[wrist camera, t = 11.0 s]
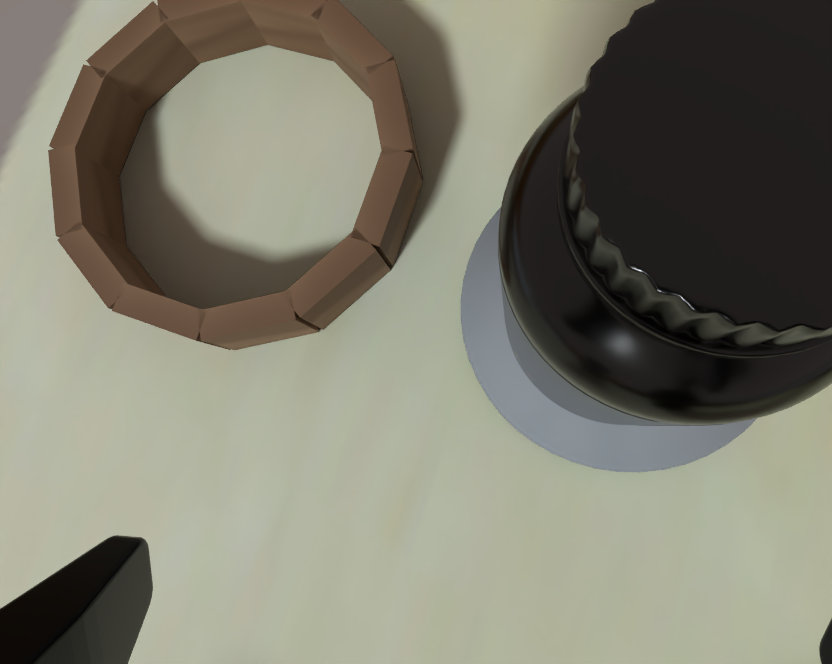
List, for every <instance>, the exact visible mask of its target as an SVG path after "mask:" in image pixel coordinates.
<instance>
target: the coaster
mask: <svg viewBox="0 0 832 664" xmlns="http://www.w3.org/2000/svg"><path fill="white" fill-rule="evenodd" d="M500 211H501V208H500V209H499V210H498V211H497V212H496V213H495V215H494V216H493V217H492V219H491V220H490V221H489V223H488V224H487V225H486V227H485V228H484V230H483V232H482V234H481V235H480V237H479V239H478V240H477V242H476V244H475V247H474V249H473V252H472V254H471V256H470V259H469V261H468V265H467V269H466V272H465V276H464V280H463V287H462V295H461V324H462V332H463V339H464V343H465V347H466V350H467V354H468V358H469V361H470V363H471V365H472V368H473V370H474V373H475V375H476V377H477V379H478V381H479V383H480V385H481V386H482V388H483V390H484V391H485V393H486V395H487V397H488V398H489V400H490V401H491V402H492V404H493V405H494V406H495V407H496V409H497V410H498V411H499V413H500V414H501V415H502V416H503V417H504V418H505V419H506V420H507V421H508V422H509V423H510V424H511V425H512V426H513V427H514V428H515V429H516V430H518V431H519V432H520V433H522V434H523V435H524V436H526V437H527V438H528V439H529V440H531V441H532V442H534V443H536V444H537V445H539V446H541V447H543V448H544V449H546V450H548V451H549V452H551V453H553V454H555V455H558V456H560V457H562V458H565V459H567V460H569V461H572V462H574V463H578V464H582V465H585V466H589V467H592V468H596V469H603V470H610V471H616V472H647V471H656V470H664V469H668V468H672V467H676V466H680V465H684V464H687V463H690V462H692V461H695V460H697V459H700V458H703V457H705V456H707V455H709V454H711V453H713V452H714V451H716V450H718V449H720V448H722V447H723V446H725V445H727V444H728V443H730V442H731V441H732V440H733V439H735V438H736V437H737V436H739V435H740V434H741V433H743V432H744V431H745V430H746V429H747V428H748V427H749V426H750V425H751V424H752V423H753V422H754V421H755V420H756V419H757V418H755V419H751V420H746V421H741V422H735V423H729V424H722V425H707V426H637V425H614V424H606V423H601V422H596V421H592V420H589V419H586V418H583V417H580V416H578V415H576V414H573V413H571V412H569V411H567V410H565V409H564V408H562V407H560V406H559V405H557V404H556V403H554V402H553V401H551V400H550V399H549V398H547V397H546V396H545V395H544V394H543V393H541V391H540V390H539V389H538V388H537V387H536V386H535V385H534V384H533V383H532V382H531V381H530V380H529V378H528V377H527V376H526V374H525V373H524V371H523V370H522V368H521V367H520V365H519V363H518V361H517V359H516V357H515V355H514V353H513V350H512V348H511V345H510V342H509V338H508V334H507V330H506V325H505V318H504V308H503V299H502V289H501V279H500V269H499V258H498V229H499V220H500Z"/></svg>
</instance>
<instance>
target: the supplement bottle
mask: <svg viewBox="0 0 832 664" xmlns="http://www.w3.org/2000/svg"><path fill="white" fill-rule="evenodd" d="M498 258H499V269H500V279H501V289H502V299H503V308H504V318H505V325H506V330H507V334H508V338H509V342H510V345H511V348H512V350H513V353H514V355H515V357H516V359H517V361H518V363H519V365H520V367H521V368H522V370H523V371H524V373H525V374H526V376H527V377H528V378H529V380H530V381H531V382H532V383H533V384H534V385H535V386H536V387H537V388H538V389H539V390H540V391H541V393H543V394H544V395H545V396H546V397H547V398H549V399H550V400H551V401H553V402H554V403H556V404H557V405H559V406H560V407H562V408H564V409H565V410H567V411H569V412H571V413H573V414H576V415H578V416H580V417H583V418H586V419H589V420H592V421H596V422H601V423H606V424H614V425H637V426H707V425H722V424H729V423H735V422H741V421H746V420H751V419H755V418H759V417H762V416H766V415H770V414H773V413H776V412H778V411H781V410H784V409H787V408H789V407H792V406H794V405H796V404H798V403H800V402H802V401H804V400H806V399H808V398H810V397H812V396H813V395H815V394H816V393H818V392H820V391H821V390H823V389H825V388H826V387H828V386H829V385H830V384H831V383H832V0H656V1H655V2H654V3H651V4H649V5H646V6H643V7H641V8H639V9H637V10H635V11H634V13H633V14H632V16H631V18H630V20H629V21H628V23H627V25H626V27H625V28H623V29H621V30H620V31H618V32H617V33H615V34H614V35H612V36H611V37H610V38H609V39H608V41H607V43H606V45H605V48H604V52H603V55H602V57H601V58H600V59H599V60H598V61H597V62H596V63H595V64H594V65H593V66H592V67H591V68H590V69H589V71H588V73H587V76H586V80H585V84H584V86H583V87H582V88H580V89H579V90H577V91H576V92H574V93H573V94H572V95H571V96H569V97H568V98H567V99H566V100H565V101H563V102H562V103H561V104H560V105H559V106H558V107H557V108H556V109H555V110H554V111H553V112H551V113H550V114H549V115H548V116H547V118H546V119H545V120H544V121H543V122H542V123H541V125H540V126H539V127H538V128H537V129H536V131H535V132H534V134H533V135H532V136H531V138H530V139H529V141H528V142H527V144H526V145H525V147H524V149H523V150H522V152H521V154H520V156H519V157H518V159H517V161H516V163H515V166H514V168H513V170H512V172H511V175H510V177H509V180H508V183H507V186H506V189H505V192H504V197H503V201H502V206H501V211H500V220H499V229H498Z"/></svg>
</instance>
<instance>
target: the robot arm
mask: <svg viewBox="0 0 832 664" xmlns="http://www.w3.org/2000/svg"><path fill="white" fill-rule="evenodd" d="M152 591H153V583H152V574H151V565H150V556H149V548H148V544H147V542H146V540H145V539H143V538H141V537H130V536H118V535H117V536H112V537H110V538H108V539H106V540H104V541H103V542H101V543H100V544H98V545H97V546H95V547H94V548H92V549H91V550H89V551H88V552H86V553H85V554H83V555H81V556H80V557H78V558H77V559H75V560H74V561H72V562H71V563H69V564H68V565H66V566H65V567H63V568H62V569H60V570H59V571H57V572H56V573H54V574H53V575H51V576H50V577H48V578H46V579H45V580H43V581H42V582H40V583H39V584H37V585H36V586H34V587H33V588H31V589H30V590H28V591H27V592H25V593H24V594H22V595H21V596H19V597H18V598H16V599H15V600H13V601H11V602H10V603H8V604H7V605H5V606H4V607H2V608H1V609H0V664H128V662H129V659H130V656H131V654H132V651H133V648H134V645H135V643H136V640H137V637H138V635H139V632H140V629H141V627H142V624H143V621H144V619H145V616H146V613H147V611H148V608H149V605H150V602H151V598H152ZM819 650H820V658H821V663H822V664H832V619H831V621H830V623H829V625H828V627H827V629H826V631H825V633H824V635H823V637H822V639H821V642H820V648H819Z"/></svg>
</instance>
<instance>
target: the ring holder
mask: <svg viewBox="0 0 832 664" xmlns="http://www.w3.org/2000/svg"><path fill="white" fill-rule="evenodd" d="M157 1H158V6H157V5H156V4H155V3H154V2H151V3H150V4H149V5H148V6H147V7H146V8H145V9H144V10H142V11H141V12H140V13H139V14H138V15H137V16H136V17H135V18H134V19H132V20H131V21H130V22H129V23H128V24H127V25H126V26H125V27H123V28H122V29H121V30H120V31H119V32H118V33H117V34H116V35H114V36H113V37H112V38H111V39H110V40H109V41H108V42H107V43H105V44H104V45H103V46H102V47H101V48H100V49H99V50H98V51H96V52H95V53H94V54H93V55H92V56H91V57H90V58H89V59H87V60H86V61H87V62H88V63H89V64H90V66H88V65H84V64H83V67H82V69H81V72H80V74H79V76H78V79H77V81H76V83H75V86H74V88H73V90H72V93H71V95H70V98H69V100H68V102H67V105H66V107H65V109H64V112H63V114H62V117H61V119H60V121H59V124H58V126H57V128H56V131H55V133H54V136H53V138H52V140H51V143H50V145H49V146H50V147H52V148H53V149H52V150H48V152H49V163H50V175H51V186H52V198H53V209H54V221H55V232H56V236H57V237H60V238H59V239H58V242H59V243H60V244H61V246H62V247H63V248H64V250H65V251H66V252H67V254H68V255H69V256H70V258H71V259H72V260H73V262H74V263H75V264H76V266H77V267H78V268H79V270H80V271H81V272H82V274H83V275H84V276H85V278H86V279H87V280H88V282H89V283H90V284H91V286H92V287H93V288H94V290H95V291H96V292H97V294H98V295H99V296H100V298H101V299H102V300H103V302H104V303H105V304H106V306H107V307H108V308H110V309H112V311H114V312H117V313H120V314H123V315H125V316H128V317H131V318H134V319H137V320H140V321H142V322H145V323H148V324H151V325H154V326H156V327H159V328H162V329H165V330H168V331H171V332H173V333H176V334H179V335H182V336H185V337H188V338H190V339H193V340H196V341H200V342H203V343H207V344H211V345H214V346H218V347H222V348H225V349H229V350H230V349H232V350H237V349H242V348H246V347H251V346H256V345H260V344H265V343H270V342H274V341H279V340H284V339H288V338H293V337H298V336H302V335H307V334H311V333H316V332H319V329H318V327H319V328H321V329H323V330H324V329H325V328H326V327H327V326H328V325H329V324H330V323H331V322H333V321H334V320H335V319H336V318H337V317H338V316H339V315H340V314H342V313H343V312H344V311H345V310H346V309H347V308H348V307H350V306H351V305H352V304H353V303H354V302H355V301H356V300H357V299H359V298H360V297H361V296H362V295H363V294H364V293H365V292H367V291H368V290H369V289H370V288H371V287H372V286H373V285H374V284H376V283H377V282H378V281H379V280H380V279H381V278H382V277H383V276H385V275H386V274H387V273H388V272H389V271H390V269H389V267H388V266H387V264H388V265H391V266H394V263H395V260H396V257H397V254H398V252H399V249H400V246H401V243H402V240H403V238H404V235H405V232H406V229H407V226H408V223H409V221H410V218H411V215H412V212H413V209H414V207H415V204H416V201H417V198H418V195H419V192H420V190H421V187H422V184H423V183H422V179H423V177H422V172H421V167H420V162H419V157H418V152H417V147H416V143H415V138H414V133H413V128H412V123H411V118H410V113H409V108H408V103H407V99H406V95H405V92H404V88H403V85H402V82H401V78H400V75H399V71H398V68H397V65H396V61H395V60H394V58H393V55H392V54H391V53H390V52H389V51H388V50H387V49H386V48H385V47H384V46H383V45H382V44H381V43H380V42H379V41H378V40H377V39H376V38H375V37H374V36H373V35H372V34H371V33H370V32H369V31H368V30H367V29H366V28H365V27H364V26H363V25H362V24H361V23H360V22H359V21H358V20H357V19H356V18H355V17H354V16H353V15H352V14H351V13H350V12H349V11H348V10H347V9H346V8H345V7H344V6H343V5H342V4H341V3H340V2H339V1H338V0H157ZM265 45H271V46H275V47H279V48H283V49H287V50H291V51H295V52H299V53H303V54H307V55H311V56H315V57H319V58H324V59H328V60H332V61H335V63H336V64H337V65H338V66H339V67H340V68H341V69H342V70H343V71H344V72H345V73H346V74H347V75H348V76H349V77H350V78H351V79H352V80H353V81H354V82H355V83H356V84H357V85H358V86H359V87H360V89H361V90H362V91H363V92H364V93H365V94H366V95H367V96H368V97H369V98H370V99H371V100H372V102H373V107H374V113H375V118H376V123H377V128H378V134H379V139H380V144H381V149H382V151H381V154H380V157H379V160H378V162H377V165H376V168H375V171H374V173H373V176H372V179H371V182H370V184H369V187H368V190H367V193H366V195H365V198H364V201H363V204H362V206H361V209H360V212H359V215H358V217H357V220H356V223H355V226H354V228H353V231H352V233H350V234H349V235H348V236H347V237H346V238H345V239H344V240H343V241H341V242H340V243H339V244H338V245H337V246H336V247H335V248H334V249H332V250H331V251H330V252H329V253H328V254H327V255H326V256H324V257H323V258H322V259H321V260H320V261H319V262H318V263H317V264H315V265H314V266H313V267H312V268H311V269H310V270H309V271H308V272H306V273H305V274H304V275H303V276H302V277H301V278H300V279H298V280H297V281H296V282H295V283H294V284H293V285H292V286H291V287H289V288H288V289H287V290H286V291H283V292H279V293H274V294H270V295H265V296H261V297H256V298H252V299H248V300H243V301H239V302H234V303H230V304H225V305H221V306H216V307H212V308H207V309H203V310H202V309H199V308H196V307H193V306H190V305H187V304H184V303H181V302H178V301H175V300H173V299H170V298H167V297H166V296H165V294H164V293H163V292H162V291H161V289H160V288H159V287H158V285H157V284H156V283H155V282H154V280H153V279H152V278H151V276H150V275H149V274H148V273H147V271H146V270H145V269H144V267H143V266H142V265H141V264H140V262H139V261H138V260H137V258H136V257H135V256H134V255H133V253H132V252H131V251H130V249H129V248H128V247H127V246H126V237H125V228H124V219H123V210H122V200H121V191H120V182H119V176H120V173H121V171H122V168H123V166H124V163H125V161H126V158H127V156H128V153H129V151H130V149H131V146H132V144H133V141H134V139H135V136H136V134H137V131H138V129H139V126H140V124H141V122H142V119H143V117H144V114H145V112H146V110H147V109H149V108H150V107H151V106H152V105H153V104H154V103H155V102H156V101H158V100H159V99H160V98H161V97H162V96H163V95H164V94H165V93H167V92H168V91H169V90H170V89H171V88H172V87H173V86H174V85H176V84H177V83H178V82H179V81H180V80H181V79H182V78H183V77H185V76H186V75H187V74H188V73H189V72H190V71H191V70H192V69H194V68H195V67H196V66H197V65H198V64H199V63H202V62H206V61H209V60H213V59H217V58H220V57H224V56H228V55H232V54H235V53H239V52H243V51H246V50H250V49H254V48H257V47H261V46H265Z"/></svg>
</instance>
